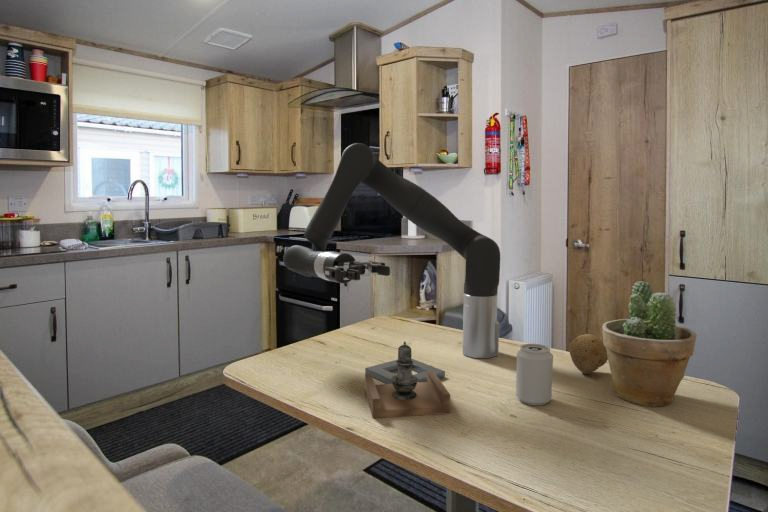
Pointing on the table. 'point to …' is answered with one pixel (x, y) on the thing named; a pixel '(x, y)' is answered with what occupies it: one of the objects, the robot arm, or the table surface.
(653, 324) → the potted plant
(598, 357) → the natural sponge
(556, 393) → the table surface
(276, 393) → the table surface
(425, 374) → the socket frame
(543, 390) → the can
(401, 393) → the salt shaker
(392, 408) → the brown piece
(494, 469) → the table surface
